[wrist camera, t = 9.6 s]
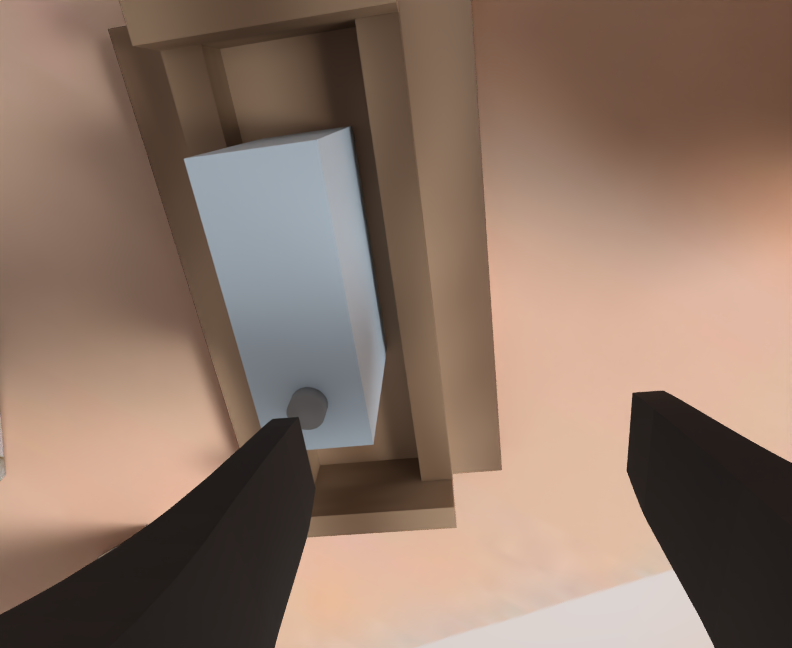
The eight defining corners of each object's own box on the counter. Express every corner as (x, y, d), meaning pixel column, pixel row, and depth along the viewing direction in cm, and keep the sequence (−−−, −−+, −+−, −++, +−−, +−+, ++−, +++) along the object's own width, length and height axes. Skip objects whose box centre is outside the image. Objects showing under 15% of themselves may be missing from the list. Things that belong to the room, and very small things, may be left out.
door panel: (352, 125, 16) (312, 141, 10) (387, 347, 20) (371, 456, 14) (262, 138, 17) (173, 161, 11) (310, 355, 20) (263, 464, 14)
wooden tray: (466, -26, 15) (479, -63, 12) (498, 455, 23) (513, 524, 19) (125, 32, 17) (41, 14, 13) (258, 473, 24) (228, 542, 20)
